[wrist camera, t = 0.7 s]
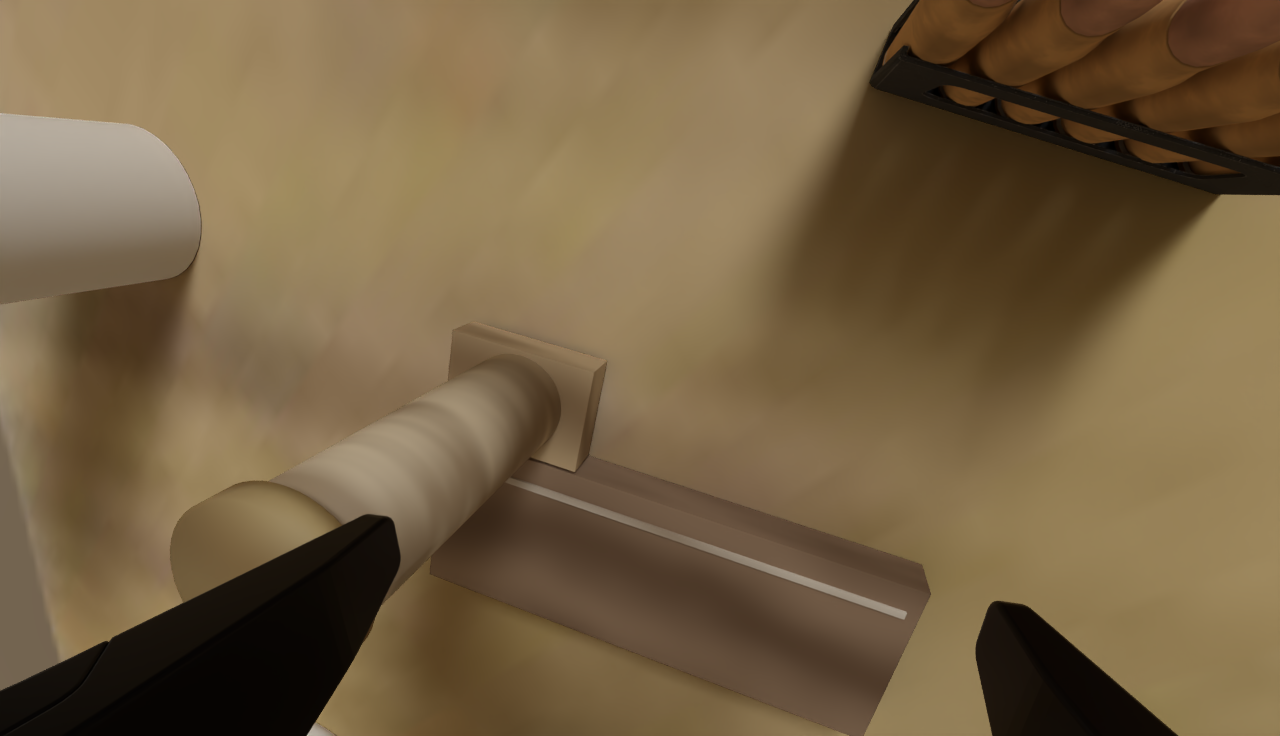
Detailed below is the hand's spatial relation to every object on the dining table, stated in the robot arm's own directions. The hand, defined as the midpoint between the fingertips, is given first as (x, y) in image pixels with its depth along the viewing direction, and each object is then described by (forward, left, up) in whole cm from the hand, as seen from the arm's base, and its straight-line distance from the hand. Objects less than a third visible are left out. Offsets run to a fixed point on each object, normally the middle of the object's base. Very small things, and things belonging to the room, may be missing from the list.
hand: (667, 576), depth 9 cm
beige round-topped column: (-4, +8, -14) cm, 17 cm away
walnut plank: (-11, +1, -15) cm, 18 cm away
